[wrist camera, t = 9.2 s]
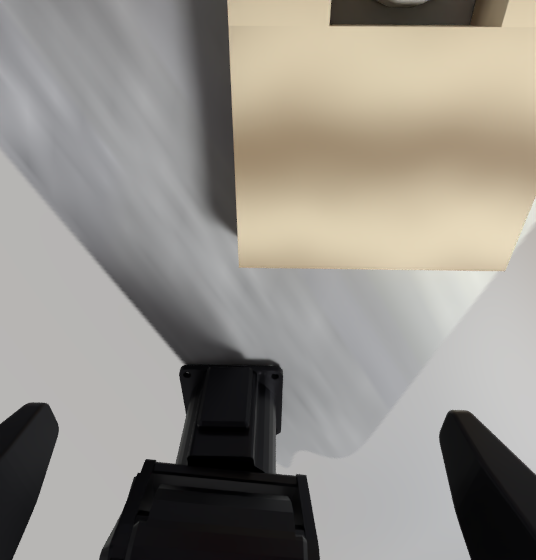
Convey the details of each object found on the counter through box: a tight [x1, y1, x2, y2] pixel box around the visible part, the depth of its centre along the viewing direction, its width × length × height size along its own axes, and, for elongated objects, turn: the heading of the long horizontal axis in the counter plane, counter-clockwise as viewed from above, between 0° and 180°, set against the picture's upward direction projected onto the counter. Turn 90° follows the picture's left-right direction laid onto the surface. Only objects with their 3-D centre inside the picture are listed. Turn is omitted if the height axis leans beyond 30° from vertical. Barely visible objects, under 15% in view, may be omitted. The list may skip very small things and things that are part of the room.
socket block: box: [227, 0, 536, 271], centre depth 14 cm, size 18×12×2 cm, turn 0°
